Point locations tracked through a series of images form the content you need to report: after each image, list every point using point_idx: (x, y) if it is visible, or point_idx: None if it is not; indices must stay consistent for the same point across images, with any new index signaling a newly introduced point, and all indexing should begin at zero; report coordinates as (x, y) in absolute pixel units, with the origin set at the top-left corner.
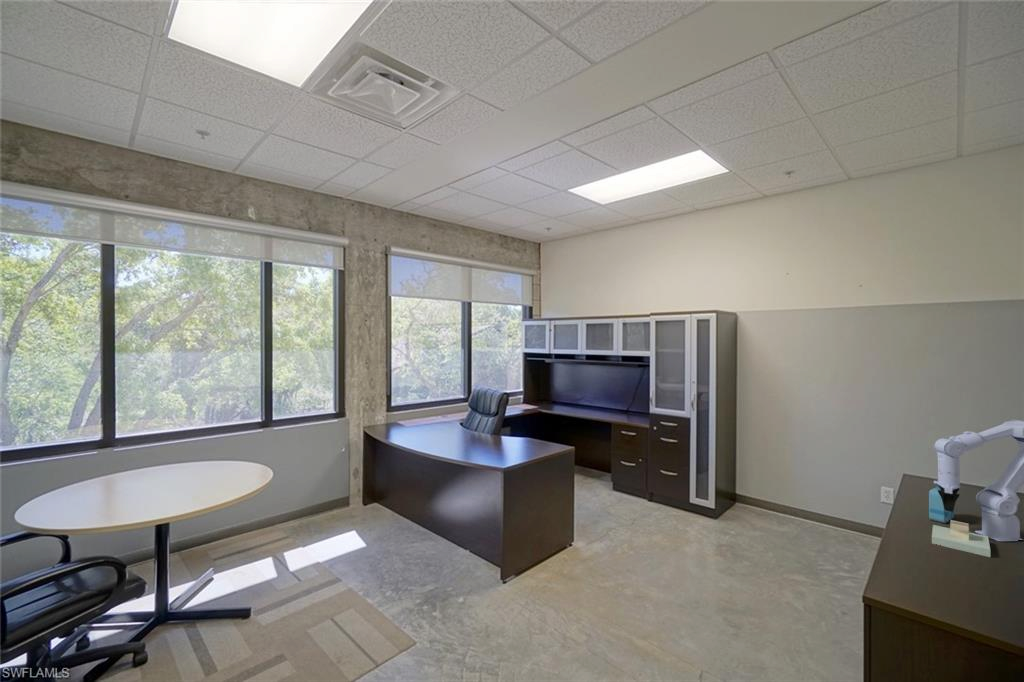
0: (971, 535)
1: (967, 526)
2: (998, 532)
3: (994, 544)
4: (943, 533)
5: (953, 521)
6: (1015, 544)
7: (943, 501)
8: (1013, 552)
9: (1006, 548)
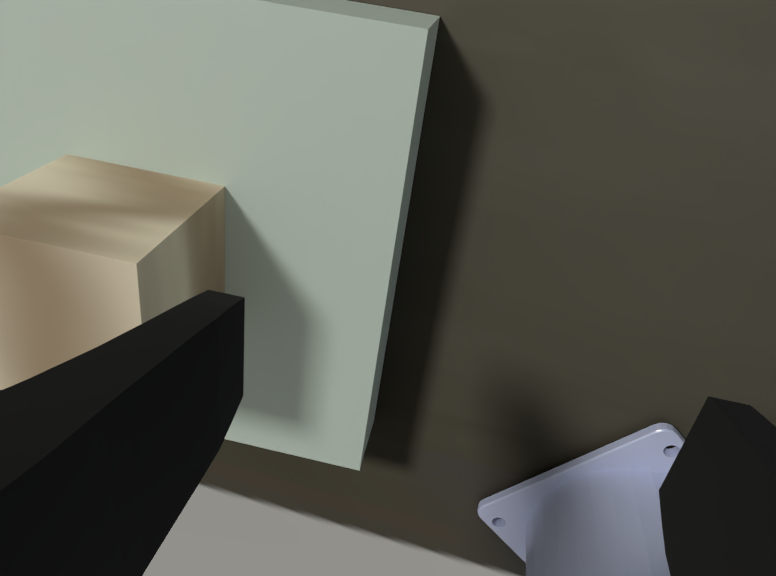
0: (277, 355)
1: (7, 383)
2: (527, 574)
3: (385, 453)
4: (110, 98)
5: (93, 285)
6: (489, 568)
7: (9, 402)
8: (278, 500)
9: (341, 491)
